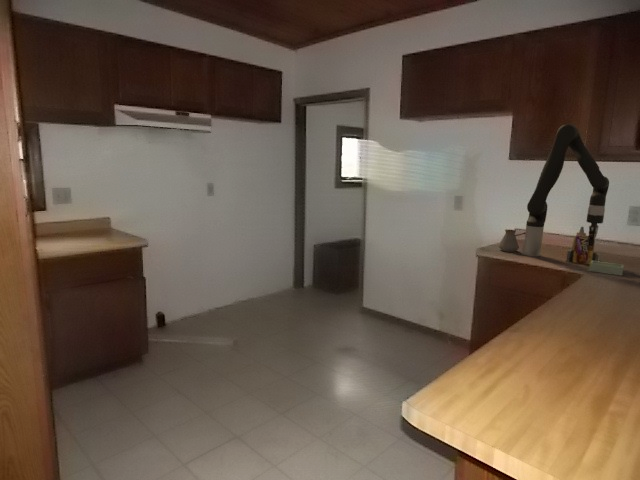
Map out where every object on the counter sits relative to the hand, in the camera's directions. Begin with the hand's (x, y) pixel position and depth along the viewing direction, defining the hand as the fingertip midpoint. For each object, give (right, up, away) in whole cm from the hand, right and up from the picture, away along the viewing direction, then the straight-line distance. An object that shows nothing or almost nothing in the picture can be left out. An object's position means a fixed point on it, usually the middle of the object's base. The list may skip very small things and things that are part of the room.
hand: (591, 244), depth 230 cm
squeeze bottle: (+5, -8, +19) cm, 21 cm away
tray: (-2, -13, -15) cm, 20 cm away
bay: (-3, -10, +4) cm, 11 cm away
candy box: (-3, -10, +4) cm, 11 cm away
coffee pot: (-27, -5, +29) cm, 40 cm away
